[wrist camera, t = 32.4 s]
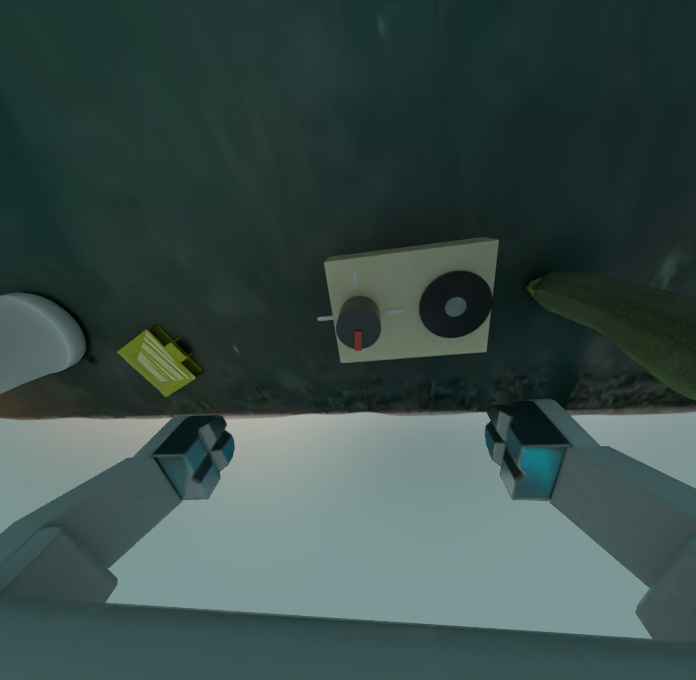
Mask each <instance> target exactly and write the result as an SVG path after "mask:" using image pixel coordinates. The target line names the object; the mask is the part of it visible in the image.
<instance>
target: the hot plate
mask: <svg viewBox="0 0 696 680" xmlns="http://www.w3.org/2000/svg"><path fill="white" fill-rule="evenodd" d="M498 244H499V240H497V239H492V238H486V237H479V238H471V239H464V240H456V241H448V242H440V243H433V244H425V245H417V246H410V247H402V248H394V249H386V250H379V251H371V252H363V253H356V254H348V255H340V256H333V257H329V258H328V259H327V260H326V261H325V262H324V266H325V272H326V278H327V284H328V290H329V296H330V302H331V308H332V314H333V316H323V317H318V321H324V320H334V326H335V332H336V323H337V320H338V317H339V313H340V310H341V307H342V305H343V304H344V303H345V301H347V300H348V299H349V298H351V297H354V296H365V297H368V298H370V299H371V300H373V301H374V302H375V303H376V305H377V306H378V309H379V314H380V322H381V333H380V336H379V338H378V340H377V341H376V342H375V343H374V344H373V345H372V346H370V347H368V348H365V349H362V351H355V349H352V348H349V347H347V346H346V345H344V344H343V343H342V342H341V341H340V340H339V338H338V336H337V333H336V338H337V344H338V350H339V356H340V362H341V363H349V362H362V361H374V360H387V359H400V358H413V357H426V356H439V355H452V354H465V353H477V352H486V351H487V342H488V333H489V324H490V315H491V311H490V313H489V315H488V317H487V319H486V320H485V321H484V323H483V324H482V325H481V326H480V327H479V328H478V329H476V330H475V331H473V332H472V333H470V334H468V335H465V336H462V337H458V338H443V337H440V336H437V335H435V334H433V333H431V332H430V331H429V330H428V329H427V328H426V327H425V326H424V324H423V322H422V320H421V318H420V314H419V303H420V299H421V296H422V294H423V292H424V290H425V289H426V287H427V286H428V285H429V284H430V283H431V282H432V281H433V280H434V279H436V278H437V277H439V276H441V275H443V274H445V273H448V272H451V271H459V270H462V271H469V272H472V273H475V274H476V275H478V276H480V277H481V278H483V279H484V280H485V281H486V282H487V284H488V285H489V287H490V289H491V293H492V297H493V288H494V279H495V270H496V261H497V253H498Z"/></svg>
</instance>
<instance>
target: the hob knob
mask: <svg viewBox="0 0 696 680" xmlns="http://www.w3.org/2000/svg"><path fill="white" fill-rule="evenodd" d="M336 333H337V336H338V338H339V340H340V341H341V342H342V343H343V344H344V345H346V346H347V347H349V348H352V349H355V351H362V349H365V348H368V347H370V346H372V345H373V344H374V343H375V342H376V341H377V340H378V338H379V336H380V333H381V322H380V314H379V309H378V306H377V305H376V303H375V302H374V301H373V300H371V299H370V298H368V297H365V296H354V297H351V298H349V299H348V300H347V301H345V303H344V304H343V305H342V307H341V310H340V313H339V317H338V320H337V323H336Z"/></svg>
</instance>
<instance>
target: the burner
mask: <svg viewBox="0 0 696 680" xmlns="http://www.w3.org/2000/svg"><path fill="white" fill-rule="evenodd" d="M491 307H492V293H491V289H490V287H489V285H488V284H487V282H486V281H485V280H484V279H483V278H481V277H480V276H478V275H476V274H475V273H472V272H469V271H462V270H459V271H451V272H448V273H445V274H443V275H441V276H439V277H437V278H436V279H434V280H433V281H432V282H431V283H430V284H429V285H428V286H427V287H426V289H425V290H424V292H423V294H422V296H421V299H420V303H419V314H420V318H421V320H422V322H423V324H424V326H425V327H426V328H427V329H428V330H429V331H430V332H431V333H433V334H435V335H437V336H440V337H443V338H458V337H462V336H465V335H468V334H470V333H472V332H473V331H475V330H476V329H478V328H479V327H480V326H481V325H482V324H483V323H484V321H485V320H486V319H487V317H488V315H489V313H490V311H491Z"/></svg>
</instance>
